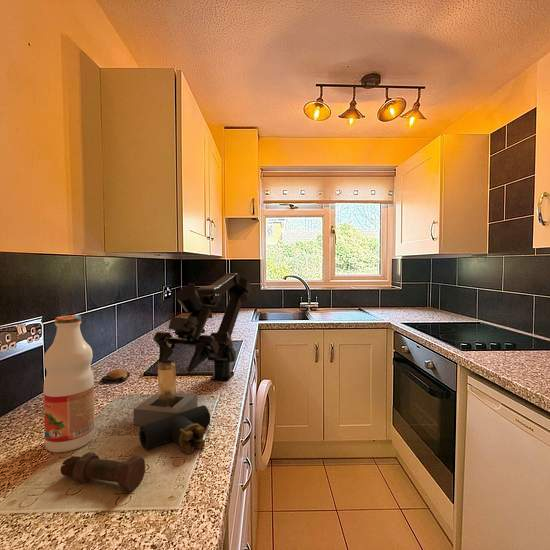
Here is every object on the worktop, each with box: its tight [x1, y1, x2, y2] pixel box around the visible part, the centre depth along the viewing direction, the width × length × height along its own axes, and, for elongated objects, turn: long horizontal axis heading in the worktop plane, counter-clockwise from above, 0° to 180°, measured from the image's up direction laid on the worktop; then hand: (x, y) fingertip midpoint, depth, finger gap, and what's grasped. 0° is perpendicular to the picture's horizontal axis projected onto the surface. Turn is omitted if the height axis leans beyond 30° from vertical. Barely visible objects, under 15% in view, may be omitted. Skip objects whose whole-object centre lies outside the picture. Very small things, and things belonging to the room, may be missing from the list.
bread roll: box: [100, 368, 131, 385], centre depth 111 cm, size 11×8×4 cm
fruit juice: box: [43, 314, 96, 453], centre depth 71 cm, size 9×9×28 cm
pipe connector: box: [138, 404, 211, 455], centre depth 72 cm, size 12×5×15 cm
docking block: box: [133, 391, 198, 427], centre depth 83 cm, size 11×11×4 cm
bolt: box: [60, 451, 146, 493], centre depth 58 cm, size 6×5×15 cm
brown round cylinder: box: [157, 360, 177, 407], centre depth 83 cm, size 4×4×14 cm
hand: (173, 370), depth 86 cm, fingers open, 9 cm apart
